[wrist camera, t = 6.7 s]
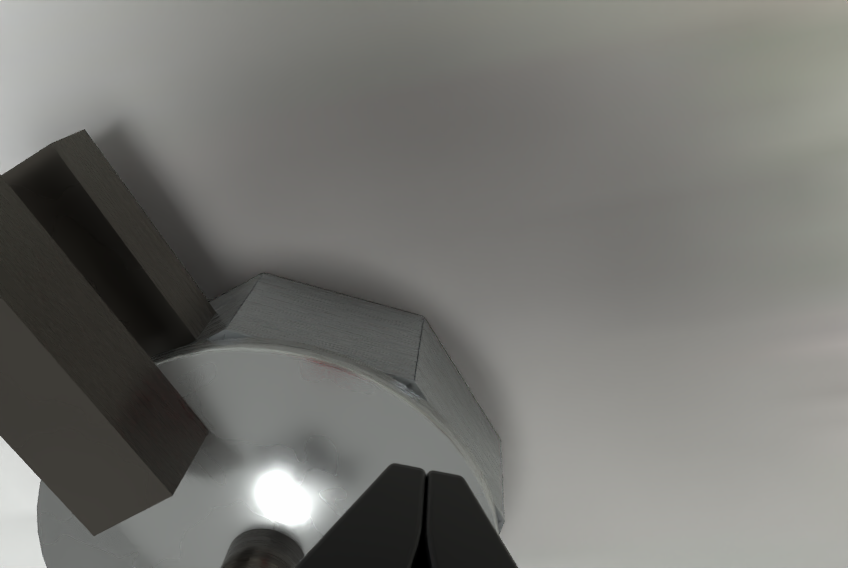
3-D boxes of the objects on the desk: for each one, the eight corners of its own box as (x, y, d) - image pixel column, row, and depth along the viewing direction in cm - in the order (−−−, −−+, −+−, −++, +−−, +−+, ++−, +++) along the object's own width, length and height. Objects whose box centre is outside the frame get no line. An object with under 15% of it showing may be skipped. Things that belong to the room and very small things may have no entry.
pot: (581, 571, 25) (597, 665, 22) (293, 680, 28) (268, 778, 24) (247, 31, 19) (199, 46, 16) (-76, 237, 22) (-176, 286, 18)
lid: (580, 609, 21) (597, 717, 18) (232, 747, 24) (196, 860, 21) (191, 45, 16) (125, 64, 13) (-190, 311, 19) (-315, 377, 16)
